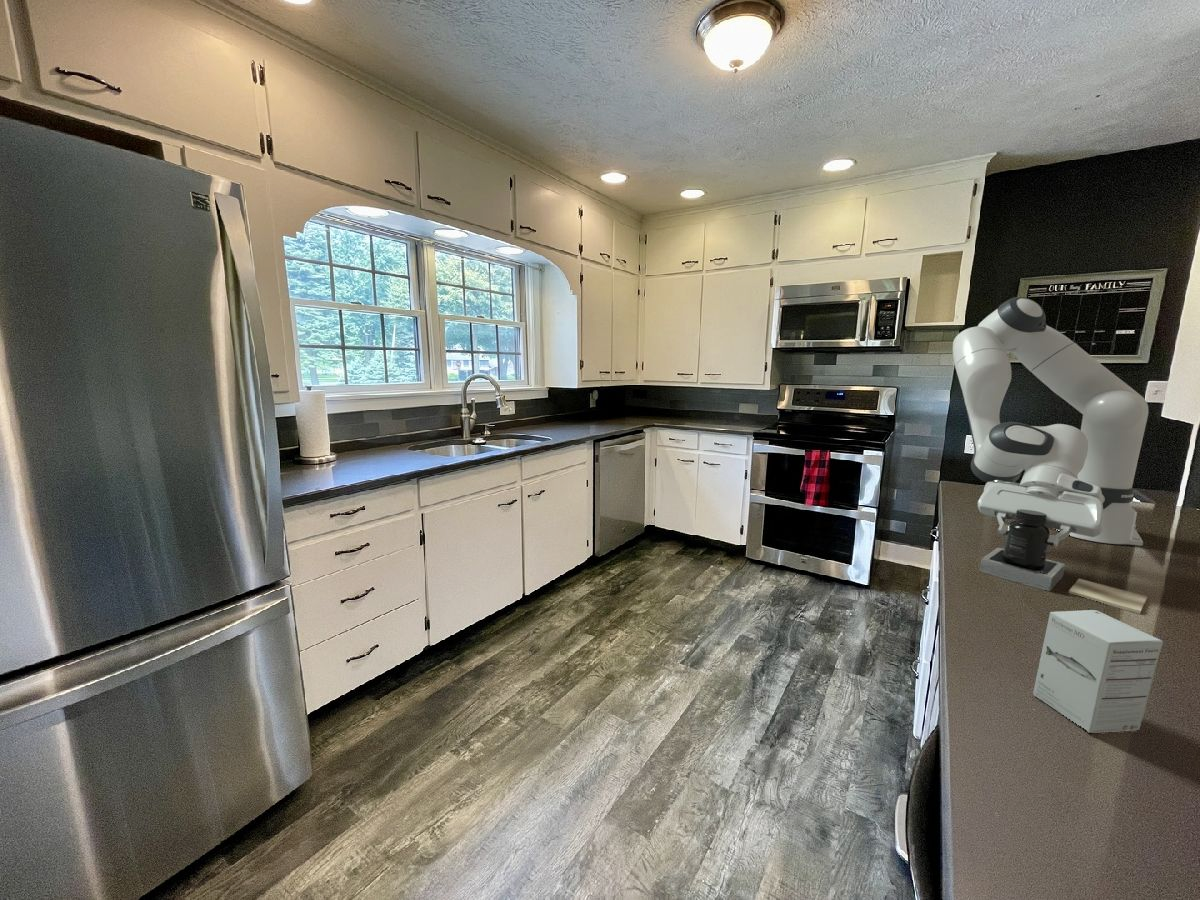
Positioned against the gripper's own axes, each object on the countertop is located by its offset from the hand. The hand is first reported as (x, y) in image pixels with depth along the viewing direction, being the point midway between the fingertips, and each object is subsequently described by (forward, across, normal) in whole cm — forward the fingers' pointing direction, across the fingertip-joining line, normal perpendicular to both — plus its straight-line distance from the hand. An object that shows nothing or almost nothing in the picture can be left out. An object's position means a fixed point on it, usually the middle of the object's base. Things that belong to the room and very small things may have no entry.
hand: (1026, 538), depth 102 cm
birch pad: (+5, +13, +7) cm, 15 cm away
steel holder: (+5, 0, +6) cm, 8 cm away
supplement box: (+40, +17, -28) cm, 51 cm away
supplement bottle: (+4, 0, +5) cm, 6 cm away
